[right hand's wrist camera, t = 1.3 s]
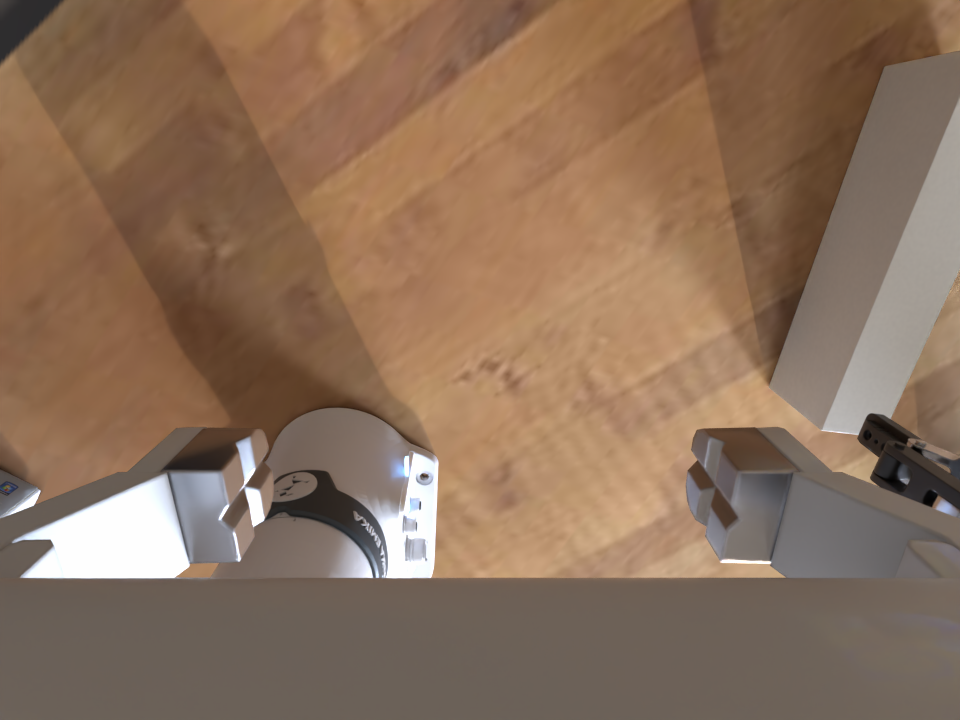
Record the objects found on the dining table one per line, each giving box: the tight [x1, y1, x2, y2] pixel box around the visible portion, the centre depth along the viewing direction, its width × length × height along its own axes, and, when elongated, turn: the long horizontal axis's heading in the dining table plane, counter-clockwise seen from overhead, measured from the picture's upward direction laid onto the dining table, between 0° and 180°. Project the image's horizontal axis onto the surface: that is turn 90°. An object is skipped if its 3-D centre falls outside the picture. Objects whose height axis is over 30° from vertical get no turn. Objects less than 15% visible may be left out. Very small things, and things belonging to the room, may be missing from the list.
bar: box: [769, 51, 960, 435], centre depth 41 cm, size 27×5×8 cm, turn 172°
